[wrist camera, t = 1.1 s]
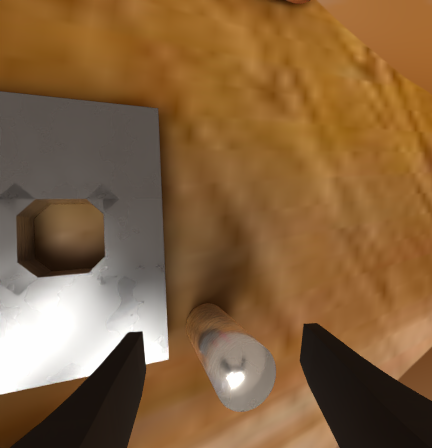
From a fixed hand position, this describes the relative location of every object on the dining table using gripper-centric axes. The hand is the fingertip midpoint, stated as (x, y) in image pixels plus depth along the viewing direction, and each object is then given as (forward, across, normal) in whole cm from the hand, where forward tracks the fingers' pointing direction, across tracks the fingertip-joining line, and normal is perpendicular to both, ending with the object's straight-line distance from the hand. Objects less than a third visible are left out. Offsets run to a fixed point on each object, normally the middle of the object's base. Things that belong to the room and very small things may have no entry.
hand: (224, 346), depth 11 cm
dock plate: (+11, +12, -2) cm, 16 cm away
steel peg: (+11, +1, +7) cm, 13 cm away
